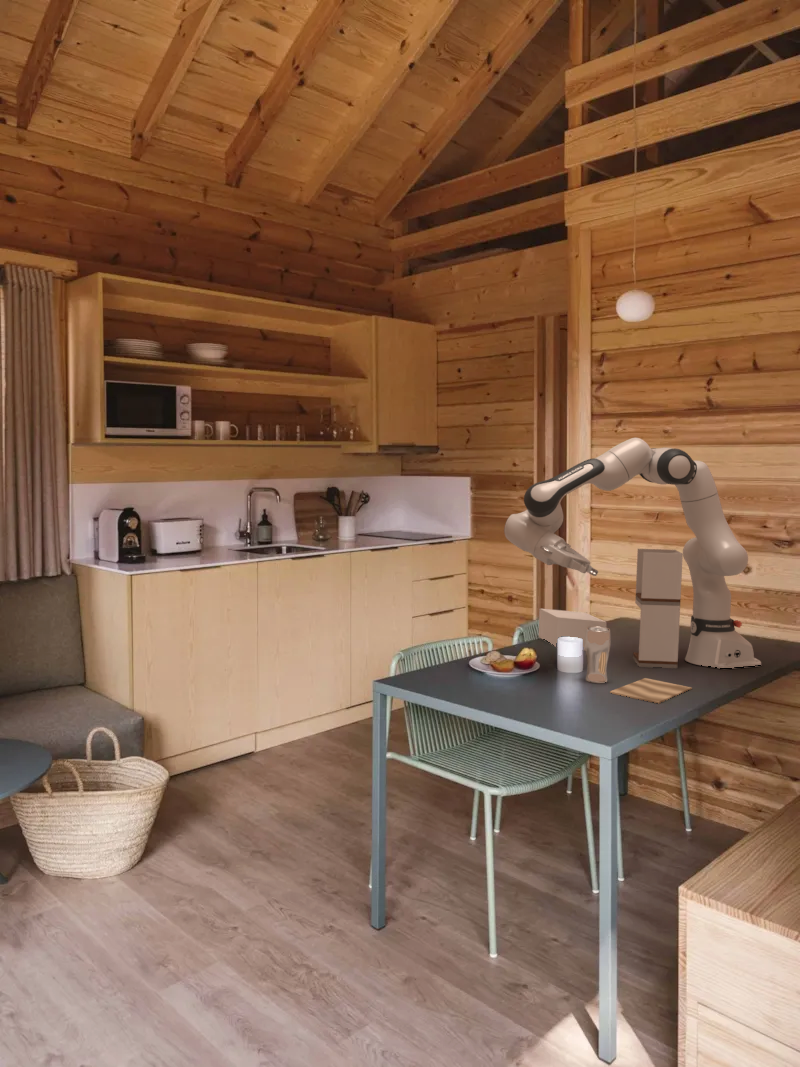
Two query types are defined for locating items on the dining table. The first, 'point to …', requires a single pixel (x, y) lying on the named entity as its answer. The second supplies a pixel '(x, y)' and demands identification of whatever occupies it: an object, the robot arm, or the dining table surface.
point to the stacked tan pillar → (658, 606)
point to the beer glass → (597, 653)
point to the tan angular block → (565, 624)
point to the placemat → (651, 690)
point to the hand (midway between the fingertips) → (591, 572)
